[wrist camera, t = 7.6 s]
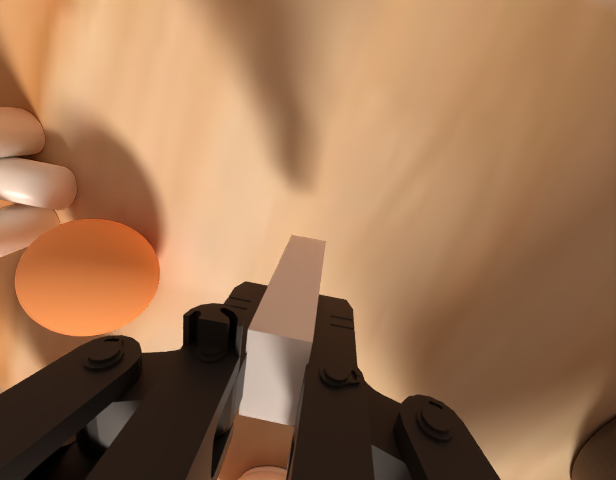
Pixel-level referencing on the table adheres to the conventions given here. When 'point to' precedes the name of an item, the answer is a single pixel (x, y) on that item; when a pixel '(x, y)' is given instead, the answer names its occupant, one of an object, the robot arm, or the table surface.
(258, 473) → the lidded jar
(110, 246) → the ball
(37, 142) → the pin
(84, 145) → the table surface
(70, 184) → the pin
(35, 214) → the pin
